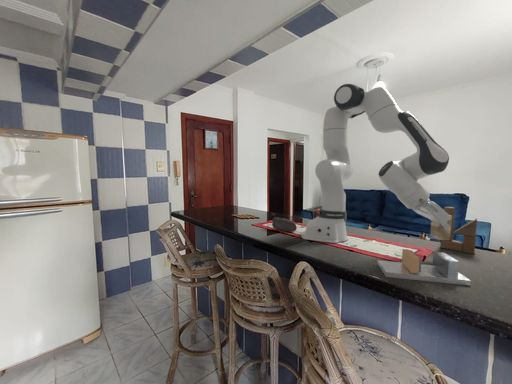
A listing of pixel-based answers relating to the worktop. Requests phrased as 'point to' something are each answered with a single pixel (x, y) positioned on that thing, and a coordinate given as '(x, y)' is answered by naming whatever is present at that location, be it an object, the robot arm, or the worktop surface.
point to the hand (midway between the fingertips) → (442, 225)
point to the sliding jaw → (411, 261)
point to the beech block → (440, 230)
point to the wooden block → (466, 230)
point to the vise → (428, 270)
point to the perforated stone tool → (283, 224)
